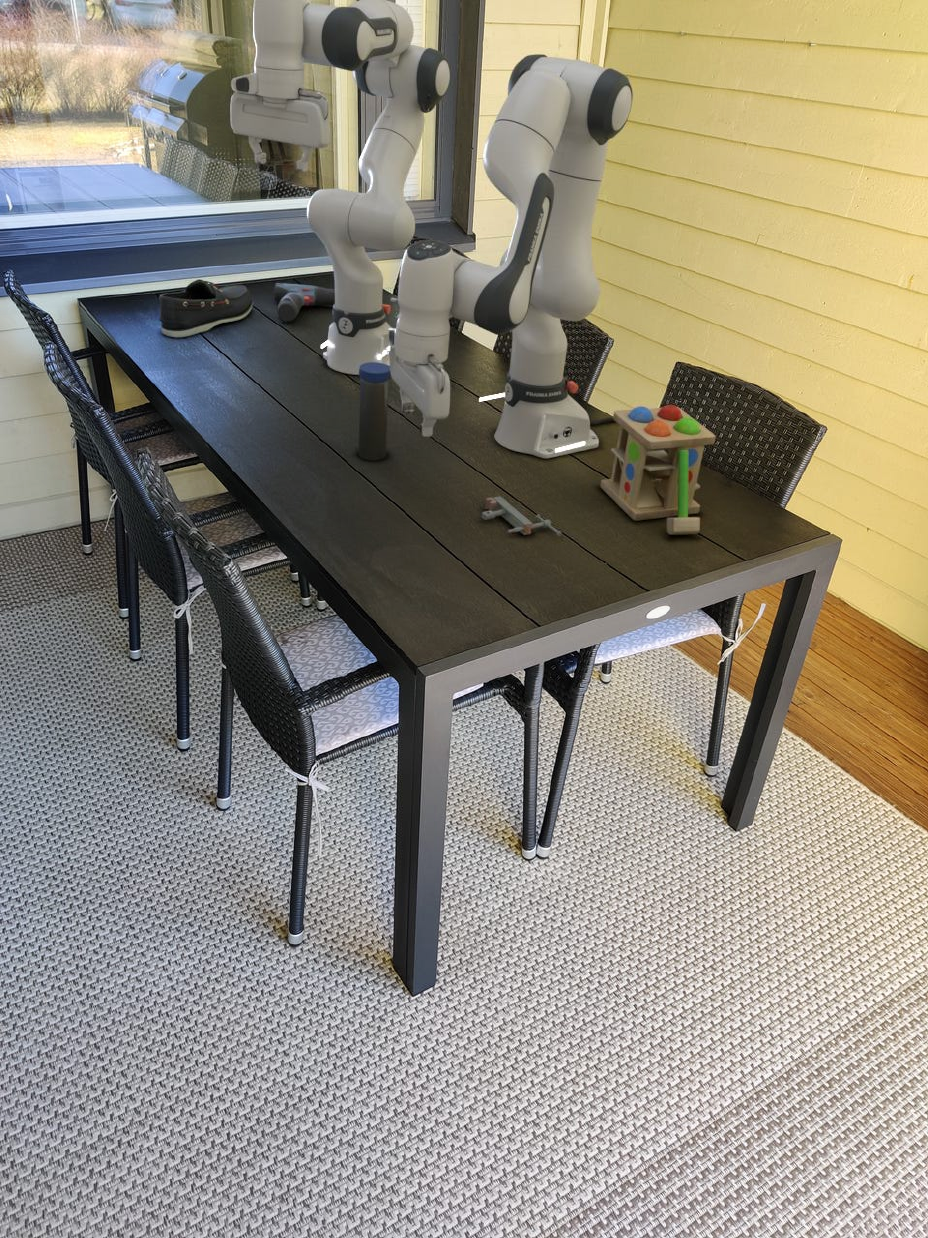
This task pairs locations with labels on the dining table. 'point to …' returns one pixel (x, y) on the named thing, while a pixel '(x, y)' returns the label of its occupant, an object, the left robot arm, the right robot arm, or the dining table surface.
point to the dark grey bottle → (373, 420)
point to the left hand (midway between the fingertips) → (281, 166)
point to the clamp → (513, 516)
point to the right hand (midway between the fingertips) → (416, 423)
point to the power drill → (300, 298)
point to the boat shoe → (202, 307)
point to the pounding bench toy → (658, 466)
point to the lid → (374, 372)
